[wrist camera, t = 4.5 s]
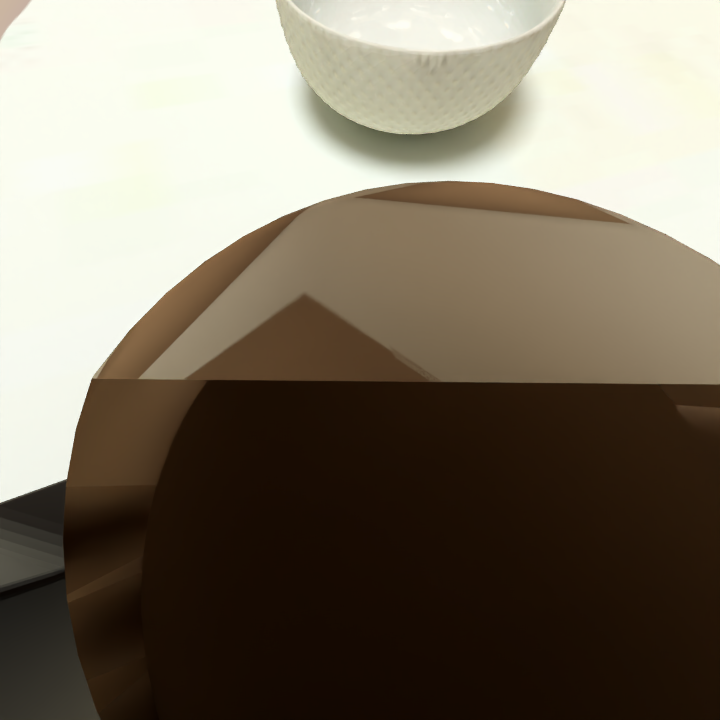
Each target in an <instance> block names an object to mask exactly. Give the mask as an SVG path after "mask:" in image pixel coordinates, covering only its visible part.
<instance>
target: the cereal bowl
mask: <svg viewBox="0 0 720 720" xmlns="http://www.w3.org/2000/svg"><path fill="white" fill-rule="evenodd" d="M565 1H566V0H276V4H277V9H278V12H279V16H280V21H281V26H282V28H283V30H284V35H285V38H286V41H287V43H288V45H289V49H290V52H291V54H292V56H293V58H294V60H295V62H296V65H297V67H298V69H299V70H300V71H301V74H302V77H303V78H304V79H305V80H306V81H307V83H308V85H309V86H310V87H311V88H313V89H314V91H315V93H316V94H317V95H318V96H320V97H321V98H322V100H323V102H325V103H327V104H328V105H329V106H330V107H331V108H332V109H334V110H336V111H337V112H338V113H339V114H341V115H343V116H345V117H346V118H348V119H349V120H353V121H354V122H356V123H358V124H361V125H364V126H366V127H369V128H371V129H376V130H378V131H384V132H389V133H396V134H415V135H416V134H426V133H436V132H439V131H445V130H448V129H454V128H455V127H457V126H462V125H464V124H465V123H467V122H469V121H472V120H475V119H476V118H478V117H479V116H482V115H484V114H485V113H486V112H487V111H489V110H492V109H493V108H494V107H495V106H496V105H497V104H498V103H500V102H501V101H503V100H504V98H505V97H506V96H508V95H509V94H510V93H511V92H512V91H513V89H514V88H515V87H516V86H517V85H518V84H519V83H520V81H521V80H522V78H523V77H524V76H525V75H526V74H527V73H528V71H529V69H530V68H531V66H532V64H533V63H534V61H535V60H536V58H537V57H538V56H539V54H540V52H541V50H542V49H543V47H544V45H545V44H546V42H547V40H548V37H549V35H550V33H551V32H552V30H553V28H554V26H555V24H556V22H557V20H558V18H559V16H560V14H561V12H562V10H563V7H564V4H565Z"/></svg>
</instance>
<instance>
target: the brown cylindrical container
mask: <svg viewBox="0 0 720 720" xmlns="http://www.w3.org/2000/svg"><path fill="white" fill-rule="evenodd" d="M63 551H64V565H65V579H66V594H67V602H68V607H69V612H70V617H71V623H72V628H73V633H74V638H75V643H76V648H77V653H78V657H79V660H80V663H81V666H82V669H83V672H84V675H85V678H86V681H87V684H88V687H89V690H90V693H91V696H92V699H93V702H94V705H95V708H96V711H97V713H98V715H99V717H100V719H101V720H720V265H719V264H717V263H716V262H714V261H713V260H711V259H710V258H708V257H706V256H704V255H702V254H701V253H699V252H697V251H695V250H693V249H691V248H690V247H688V246H686V245H684V244H682V243H681V242H679V241H677V240H675V239H673V238H671V237H670V236H668V235H666V234H664V233H662V232H659V231H657V230H655V229H653V228H650V227H648V226H646V225H644V224H641V223H639V222H637V221H634V220H632V219H630V218H628V217H625V216H623V215H621V214H618V213H615V212H612V211H609V210H606V209H603V208H600V207H597V206H594V205H592V204H589V203H586V202H583V201H580V200H577V199H573V198H569V197H564V196H560V195H556V194H552V193H548V192H544V191H539V190H535V189H530V188H523V187H516V186H509V185H502V184H495V183H482V182H460V181H438V182H420V183H404V184H398V185H392V186H385V187H379V188H373V189H366V190H362V191H358V192H354V193H351V194H347V195H343V196H339V197H336V198H332V199H328V200H324V201H322V202H319V203H316V204H314V205H311V206H308V207H306V208H303V209H301V210H298V211H295V212H293V213H290V214H287V215H285V216H283V217H281V218H279V219H277V220H275V221H273V222H271V223H269V224H267V225H265V226H263V227H261V228H259V229H257V230H255V231H253V232H251V233H249V234H247V235H245V236H243V237H242V238H240V239H239V240H237V241H236V242H234V243H233V244H231V245H230V246H228V247H227V248H225V249H224V250H222V251H220V252H219V253H217V254H216V255H214V256H213V257H211V258H210V259H208V260H207V261H205V262H204V263H203V264H201V265H200V266H199V267H198V268H196V269H195V270H194V271H193V272H192V273H190V274H189V275H188V276H187V277H185V278H184V279H183V280H182V281H181V282H179V283H178V284H177V285H176V286H174V287H173V288H172V289H171V290H170V291H168V292H167V293H166V294H165V295H164V296H163V297H162V298H161V299H160V300H159V301H158V302H157V303H156V304H155V305H154V306H153V307H152V308H151V309H150V310H149V311H148V312H147V313H146V314H145V315H144V316H143V317H142V318H141V319H140V320H139V321H138V322H137V323H136V324H135V325H134V327H133V328H132V329H131V330H130V331H129V332H128V333H127V334H126V336H125V337H124V338H123V339H122V341H121V342H120V343H119V344H118V346H117V347H116V348H115V349H114V351H113V352H112V353H111V354H110V356H109V357H108V358H107V359H106V361H105V362H104V363H103V364H102V366H101V367H100V368H99V370H98V371H97V372H96V373H95V375H94V376H93V378H92V380H91V383H90V386H89V389H88V392H87V396H86V399H85V402H84V405H83V408H82V412H81V415H80V418H79V421H78V424H77V428H76V432H75V438H74V443H73V449H72V454H71V460H70V465H69V471H68V477H67V482H66V494H65V512H64V531H63Z"/></svg>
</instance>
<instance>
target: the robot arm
mask: <svg viewBox="0 0 720 720" xmlns="http://www.w3.org/2000/svg"><path fill="white" fill-rule="evenodd" d="M66 482H67V479H66V480H63V481H60V482H58V483H55V484H52V485H49V486H46V487H44V488H41V489H38V490H35V491H32V492H30V493H27V494H24V495H21V496H18V497H16V498H13V499H10V500H7V501H5V502H2V503H0V720H101V719H100V717H99V715H98V713H97V711H96V708H95V705H94V702H93V699H92V696H91V693H90V690H89V687H88V684H87V681H86V678H85V675H84V672H83V669H82V666H81V663H80V660H79V657H78V653H77V648H76V643H75V638H74V633H73V628H72V623H71V617H70V612H69V607H68V602H67V594H66V579H65V565H64V551H63V531H64V512H65V494H66Z"/></svg>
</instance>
